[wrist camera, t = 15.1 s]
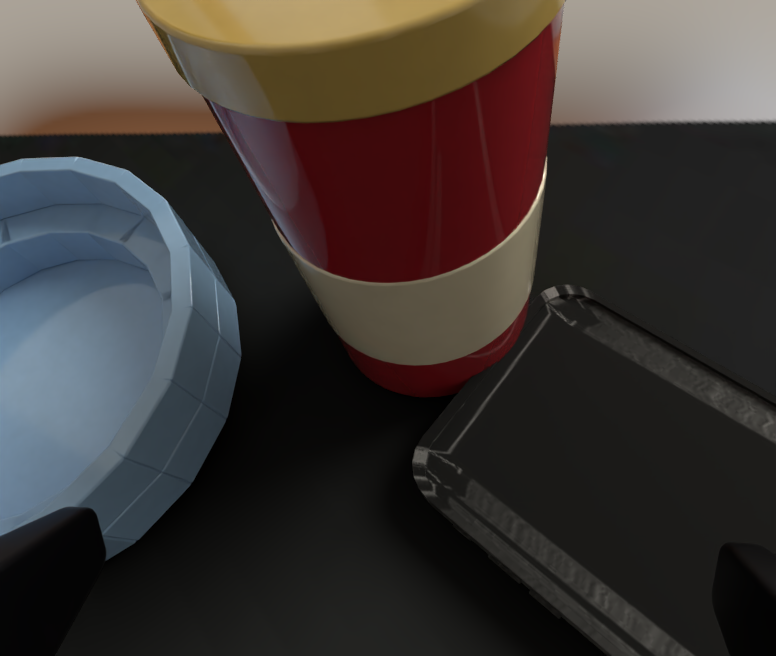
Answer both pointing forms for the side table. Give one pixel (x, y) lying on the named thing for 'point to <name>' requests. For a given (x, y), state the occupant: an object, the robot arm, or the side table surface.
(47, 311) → the bowl
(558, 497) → the phone
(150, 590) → the side table surface
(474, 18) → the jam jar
